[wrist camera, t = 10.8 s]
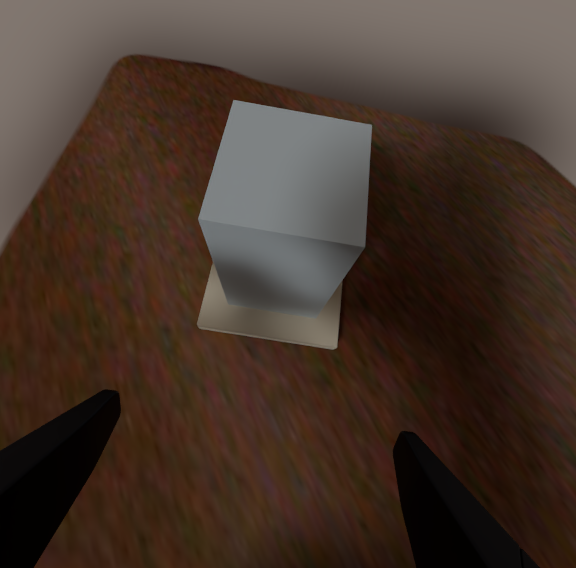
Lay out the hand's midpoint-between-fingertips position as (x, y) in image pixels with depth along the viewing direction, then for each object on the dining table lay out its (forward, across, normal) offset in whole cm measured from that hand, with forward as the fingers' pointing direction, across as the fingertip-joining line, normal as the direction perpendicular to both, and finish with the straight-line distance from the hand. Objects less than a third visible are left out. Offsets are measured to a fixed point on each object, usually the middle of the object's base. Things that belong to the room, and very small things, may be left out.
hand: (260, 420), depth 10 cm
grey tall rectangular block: (+12, 0, 0) cm, 12 cm away
